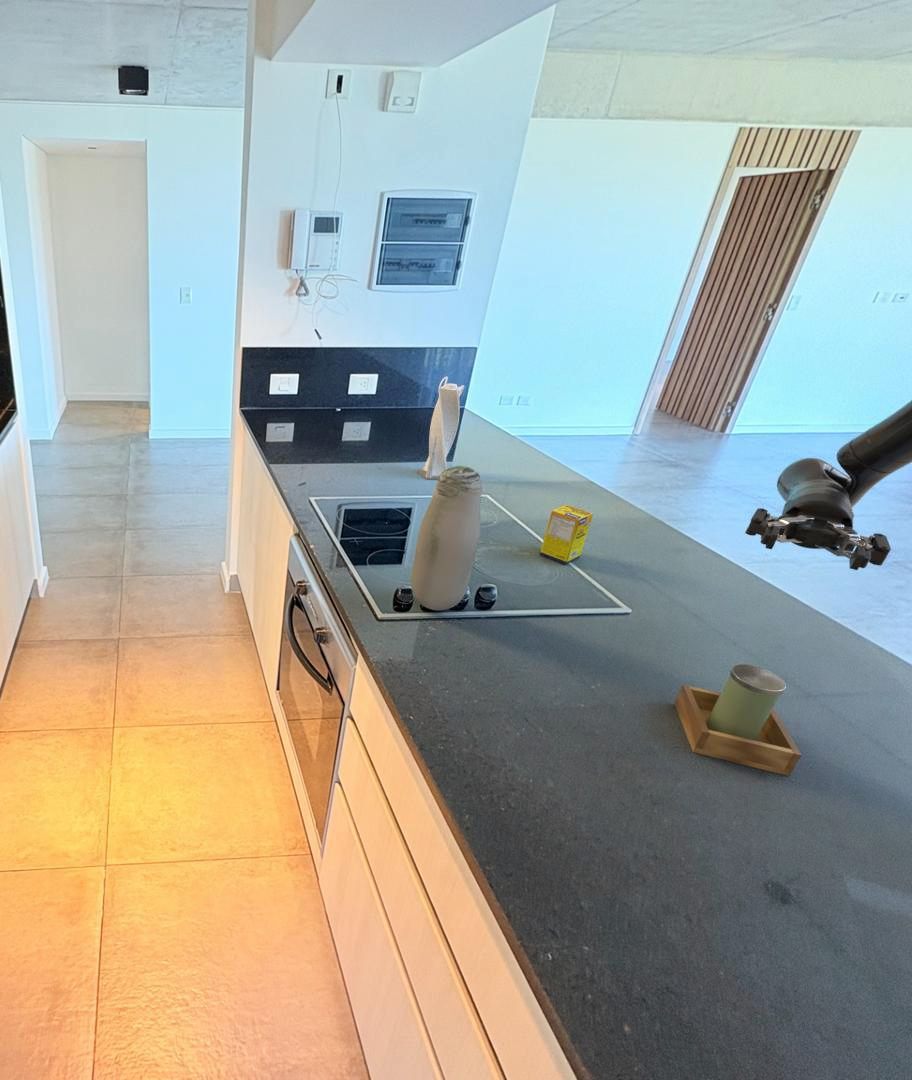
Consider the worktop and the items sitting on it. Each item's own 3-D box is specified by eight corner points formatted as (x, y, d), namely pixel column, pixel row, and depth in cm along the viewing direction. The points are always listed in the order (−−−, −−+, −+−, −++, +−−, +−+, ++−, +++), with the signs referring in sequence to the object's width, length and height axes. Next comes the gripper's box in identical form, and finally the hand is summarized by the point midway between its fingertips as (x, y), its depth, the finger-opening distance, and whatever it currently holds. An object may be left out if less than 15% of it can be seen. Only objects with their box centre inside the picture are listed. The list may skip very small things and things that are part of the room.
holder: (760, 723, 90) (771, 703, 88) (789, 776, 81) (802, 755, 79) (673, 703, 94) (682, 684, 92) (692, 752, 85) (702, 731, 83)
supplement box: (579, 558, 135) (594, 513, 130) (565, 565, 132) (580, 519, 127) (552, 548, 140) (566, 503, 135) (538, 555, 137) (551, 510, 132)
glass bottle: (415, 586, 125) (440, 454, 112) (468, 602, 119) (501, 465, 107) (399, 607, 117) (424, 470, 105) (454, 625, 112) (488, 482, 100)
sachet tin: (729, 717, 90) (757, 662, 85) (765, 745, 85) (797, 689, 80) (694, 720, 89) (721, 665, 85) (729, 749, 84) (759, 692, 80)
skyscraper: (414, 469, 186) (431, 376, 173) (440, 468, 186) (458, 375, 174) (427, 479, 178) (445, 382, 166) (453, 478, 179) (473, 381, 166)
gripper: (869, 553, 90) (873, 595, 80) (745, 524, 99) (734, 559, 88) (896, 506, 87) (903, 544, 76) (765, 481, 95) (755, 512, 85)
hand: (812, 552), depth 82 cm, fingers open, 8 cm apart
